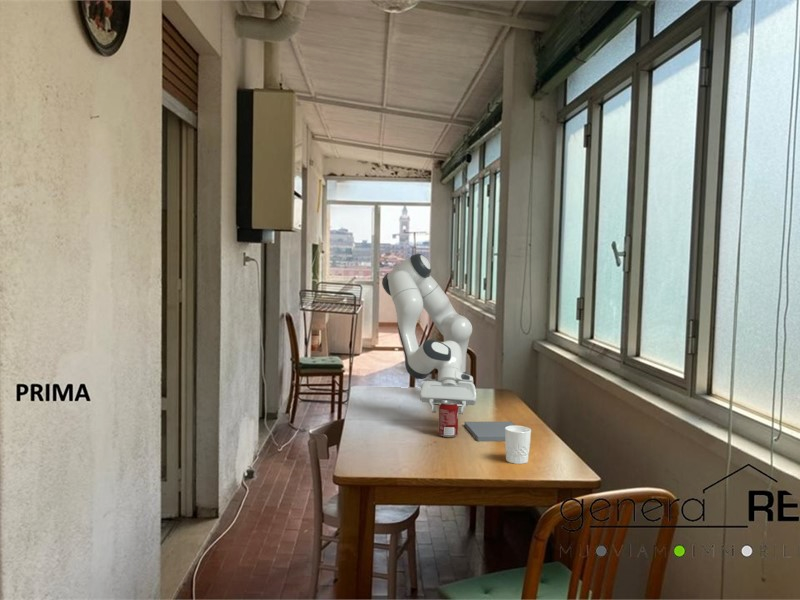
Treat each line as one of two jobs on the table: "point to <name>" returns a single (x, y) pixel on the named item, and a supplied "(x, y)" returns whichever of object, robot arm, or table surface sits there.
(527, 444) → the white cup
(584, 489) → the table surface
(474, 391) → the robot arm
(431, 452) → the table surface
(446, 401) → the soda can
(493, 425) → the slate board
